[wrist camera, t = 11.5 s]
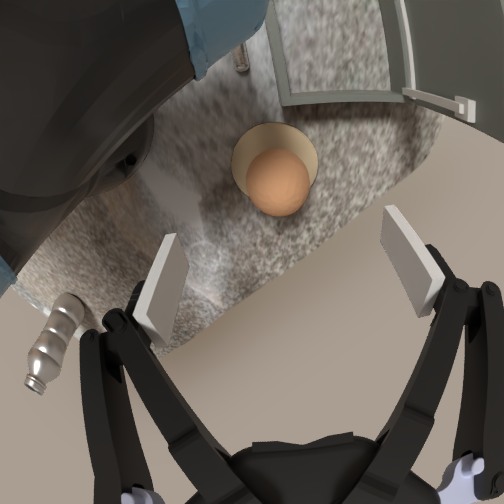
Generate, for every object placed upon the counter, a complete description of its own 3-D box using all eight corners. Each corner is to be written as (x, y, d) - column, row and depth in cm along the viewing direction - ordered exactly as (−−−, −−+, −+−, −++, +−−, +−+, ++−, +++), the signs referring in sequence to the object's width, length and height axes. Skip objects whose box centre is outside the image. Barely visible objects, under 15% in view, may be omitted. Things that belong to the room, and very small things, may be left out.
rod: (236, 72, 23) (235, 72, 22) (216, -21, 16) (214, -25, 15) (250, 70, 23) (249, 70, 21) (230, -24, 16) (229, -28, 15)
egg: (256, 132, 25) (255, 158, 19) (311, 150, 26) (329, 182, 20) (240, 183, 29) (234, 224, 22) (291, 197, 30) (301, 241, 23)
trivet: (240, 204, 32) (240, 209, 31) (224, 129, 26) (223, 132, 25) (318, 194, 31) (320, 199, 30) (311, 117, 25) (313, 119, 24)
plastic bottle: (72, 286, 41) (25, 379, 26) (94, 311, 45) (56, 402, 29) (54, 291, 43) (10, 375, 27) (75, 314, 47) (39, 397, 31)
